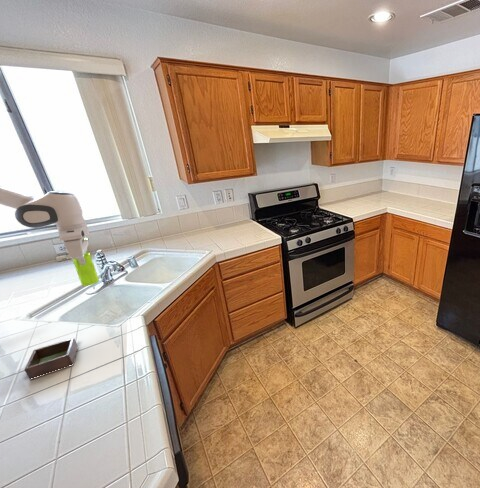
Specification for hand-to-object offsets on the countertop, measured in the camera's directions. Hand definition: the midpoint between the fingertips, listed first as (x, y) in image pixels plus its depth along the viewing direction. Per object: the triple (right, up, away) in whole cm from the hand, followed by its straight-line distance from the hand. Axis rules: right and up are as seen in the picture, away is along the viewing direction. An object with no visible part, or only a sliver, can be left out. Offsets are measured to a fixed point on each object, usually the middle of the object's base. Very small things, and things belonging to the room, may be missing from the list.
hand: (84, 261), depth 113 cm
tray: (+9, -34, -21) cm, 41 cm away
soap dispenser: (0, -10, +4) cm, 10 cm away
